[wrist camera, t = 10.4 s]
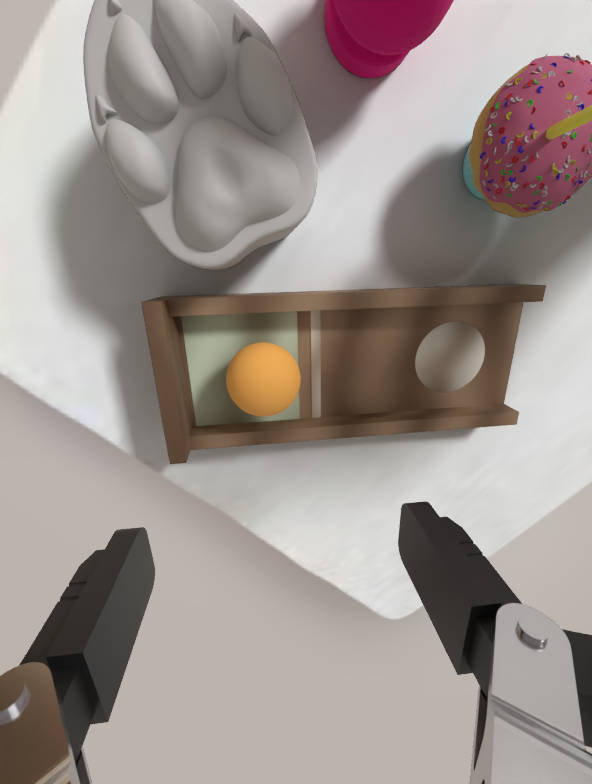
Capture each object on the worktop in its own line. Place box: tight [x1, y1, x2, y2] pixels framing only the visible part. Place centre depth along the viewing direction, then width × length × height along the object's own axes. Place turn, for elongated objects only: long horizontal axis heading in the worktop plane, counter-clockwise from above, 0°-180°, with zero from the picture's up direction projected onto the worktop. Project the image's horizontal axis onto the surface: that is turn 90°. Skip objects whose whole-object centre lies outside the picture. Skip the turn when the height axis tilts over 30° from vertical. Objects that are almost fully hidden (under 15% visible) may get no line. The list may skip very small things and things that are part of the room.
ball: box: [226, 342, 301, 417], centre depth 26 cm, size 6×6×6 cm
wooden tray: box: [142, 284, 546, 464], centre depth 28 cm, size 30×12×5 cm, turn 92°
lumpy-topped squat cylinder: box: [84, 0, 317, 270], centre depth 20 cm, size 10×13×9 cm
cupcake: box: [463, 53, 592, 217], centre depth 20 cm, size 9×8×12 cm
